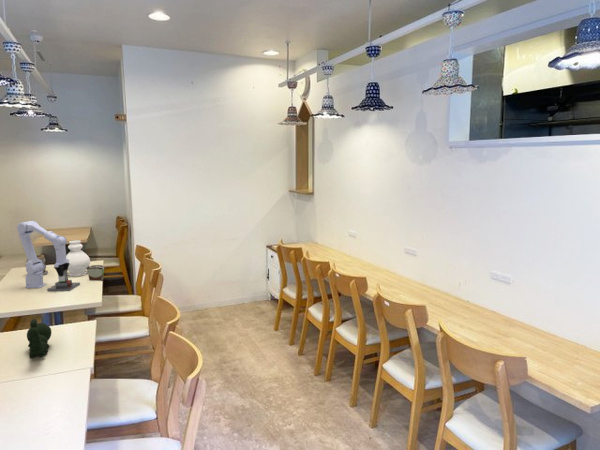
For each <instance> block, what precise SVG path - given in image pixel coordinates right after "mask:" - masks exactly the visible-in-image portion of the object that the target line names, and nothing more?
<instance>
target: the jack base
mask: <svg viewBox="0 0 600 450" xmlns="http://www.w3.org/2000/svg"><path fill="white" fill-rule="evenodd" d="M80 285H81V283H80V282H73V281H72V279H68V280H67V281H62V282H59V280H58V281H56V282H55V283H54V285H53V286H50V287H48V288H47V289H46V290H47V292H71V291H72V290H73V289H76V288H77V287H79V286H80Z"/></svg>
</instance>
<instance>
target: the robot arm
mask: <svg viewBox="0 0 600 450" xmlns="http://www.w3.org/2000/svg"><path fill="white" fill-rule="evenodd" d="M16 228H17V232H18V237H19V239H20V242H21V245H22V248H23V250H24V253H25V256H26V260H27V259H28V262H26V263H25V268H26V269H25V271H26V273H28V274H26V275H25V289H38V288H43V287H45V286H46V285H47V283H44V276H43V274H42V272H43V270H44V269H45V266H44V264H43V263H42V261H41V260H40V259H38V258H37V256H36V255H37V254H36V253H37V252H36V251H35V247H34V245H33V242H32V239H31V234H32V233H33V232H36V233H38V234H40V235H42V236H43V237H44V239H46V240H47V241H48V242H51V243H52V246H53V247H54V249H55V259H56V260H55V261H56V262H55V264H54V265H53V268H54V269H55V271H56V272H57V276H58V275H59V277H62V276H63V270H67V271H68V267H69V264H70V263H68V262H69V259H66V255H67V251H66V244H67V242H68V241H67V238H66V237H65V236H63V235H59V234H57V233H55V232H54V231H53V230H49V231H48V230H46V229H45V228H44V227H42V226H41V225H39V224H38V222H37V221H35V220H29V221H23V222H19V223H18V225H17V226H16ZM33 263H36V264H33ZM45 270H46V269H45Z"/></svg>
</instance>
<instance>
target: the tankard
mask: <svg viewBox="0 0 600 450" xmlns="http://www.w3.org/2000/svg"><path fill="white" fill-rule="evenodd" d="M36 256H37V258H38V259H40V260H41V261H42V263H43V264H44V266H45V269H44V270H43V272H42V274H43V277H45V276H47V275H48V273H49V272H48V270H47V264H46V261H47V260H46V257H45V255H44V254H36ZM27 262H28V259H27V258H26V263H27ZM33 264H36V263H33ZM26 273H27V272H26ZM27 274H28V273H27ZM27 274H26V275H27Z"/></svg>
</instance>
